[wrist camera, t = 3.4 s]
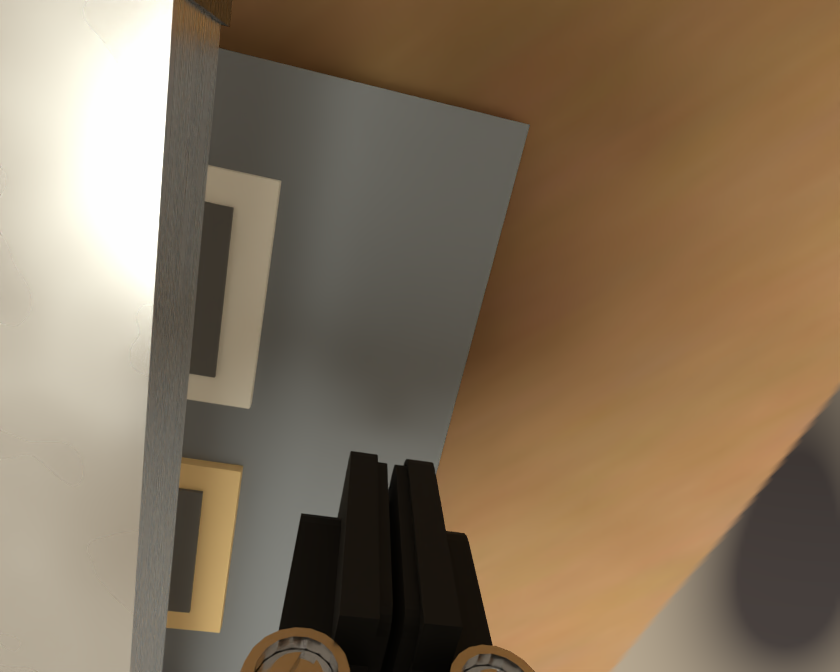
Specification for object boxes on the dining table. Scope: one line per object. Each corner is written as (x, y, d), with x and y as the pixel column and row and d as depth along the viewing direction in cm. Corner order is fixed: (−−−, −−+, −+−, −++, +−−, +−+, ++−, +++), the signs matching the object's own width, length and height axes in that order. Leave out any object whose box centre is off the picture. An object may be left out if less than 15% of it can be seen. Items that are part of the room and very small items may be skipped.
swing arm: (147, 897, 15) (107, 1030, 13) (-19, 893, 15) (-90, 1031, 12) (240, -66, 8) (186, -145, 6) (-89, -157, 7) (-300, -289, 5)
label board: (-389, -97, 12) (-1001, -282, 6) (514, 125, 14) (591, 121, 9) (-223, 666, 19) (-450, 870, 14) (361, 712, 22) (358, 894, 16)
